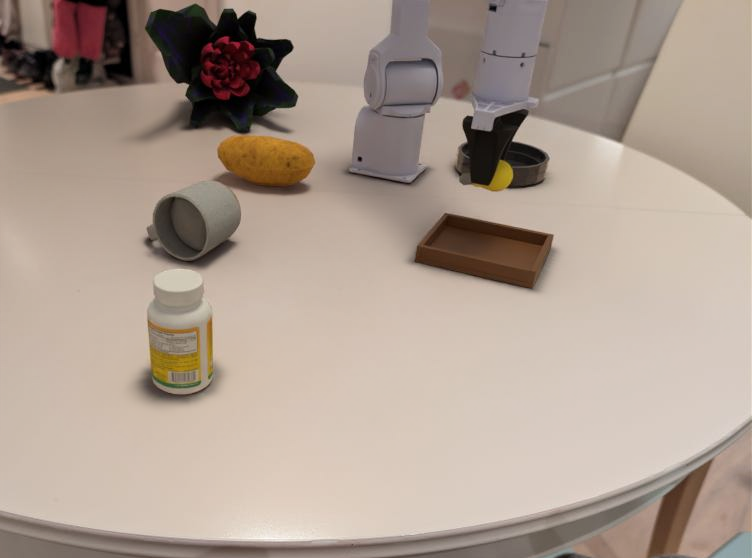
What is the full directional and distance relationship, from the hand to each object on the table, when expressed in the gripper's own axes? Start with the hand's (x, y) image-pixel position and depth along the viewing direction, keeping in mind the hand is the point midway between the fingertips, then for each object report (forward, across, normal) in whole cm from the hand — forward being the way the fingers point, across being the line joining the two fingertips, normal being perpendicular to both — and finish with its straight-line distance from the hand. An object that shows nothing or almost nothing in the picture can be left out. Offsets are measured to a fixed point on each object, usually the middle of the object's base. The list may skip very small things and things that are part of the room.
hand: (484, 178), depth 85 cm
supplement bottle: (+8, -41, +15) cm, 44 cm away
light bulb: (+1, 0, 0) cm, 1 cm away
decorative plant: (+8, +28, +50) cm, 58 cm away
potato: (+8, +5, +31) cm, 32 cm away
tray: (+8, -3, -2) cm, 9 cm away
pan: (+8, +27, +3) cm, 28 cm away
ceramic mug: (+8, -18, +29) cm, 35 cm away
